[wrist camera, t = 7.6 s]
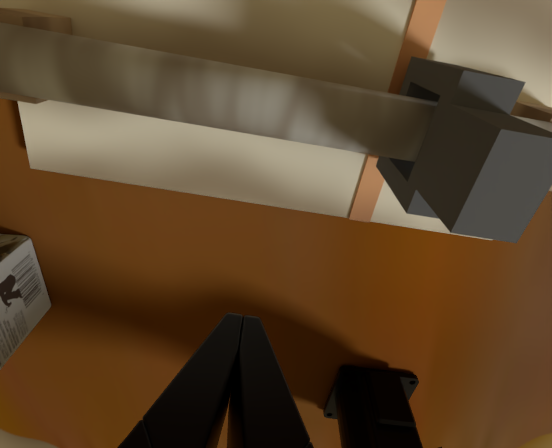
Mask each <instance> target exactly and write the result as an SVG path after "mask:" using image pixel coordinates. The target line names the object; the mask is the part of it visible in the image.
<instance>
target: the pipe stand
mask: <svg viewBox="0 0 552 448" xmlns="http://www.w3.org/2000/svg"><path fill="white" fill-rule="evenodd" d="M411 56H413V57H418V58H423V59H428V60H434V61H439V62H444V63H449V64H455V65H459V66H463V67H467V68H471V69H475V70H479V71H483V72H487V73H491V74H495V75H499V76H503V77H507V78H511V79H515V80H519V81H523V82H526V83H525V85H524V87H523V89H522V91H521V93H520V95H519V97H518V99H517V101H516V103H515V105H514V107H513V109H512V111H511V113H510V115H511V116H514V117H516V118H518V119H521V120H523V121H526V122H528V123H531V124H533V125H535V126H538V127H540V128H543V129H545V130H548V131H550V132H552V0H0V98H2V99H8V100H14V101H18V107H19V112H20V117H21V122H22V127H23V132H24V137H25V143H26V148H27V153H28V158H29V163H30V168H32V169H38V170H45V171H51V172H58V173H64V174H70V175H77V176H83V177H90V178H96V179H102V180H109V181H115V182H122V183H128V184H134V185H141V186H147V187H154V188H160V189H166V190H173V191H179V192H186V193H192V194H198V195H205V196H211V197H218V198H224V199H230V200H237V201H243V202H250V203H256V204H262V205H269V206H275V207H282V208H288V209H294V210H301V211H307V212H314V213H320V214H326V215H333V216H339V217H346V218H349V219H351V220H357V221H363V222H370V221H371V222H378V223H384V224H390V225H397V226H403V227H410V228H416V229H422V230H429V231H435V232H442V233H448V234H455V233H450V231H449V230H448V229H447V228H446V226H445V225H444V224H443V223H442V221H441V220H440V219H438V218H431V217H425V216H419V215H413V214H406V212H405V210H404V209H403V207H402V206H401V204H400V203H399V201H398V200H397V198H396V197H395V195H394V193H393V192H392V190H391V189H390V187H389V186H388V184H387V183H386V181H385V179H384V178H383V176H382V175H381V173H380V172H379V170H378V169H377V167H376V164H377V161H378V158H379V156H383V157H389V158H394V159H400V160H406V161H412V162H415V161H416V158H417V156H418V153H419V151H420V148H421V145H422V143H423V140H424V138H425V135H426V132H427V130H428V127H429V124H430V122H431V119H432V117H433V114H434V111H435V109H436V106H437V104H438V102H436V101H431V100H425V99H420V98H414V97H409V96H403V95H399V93H400V90H401V87H402V84H403V81H404V78H405V75H406V72H407V69H408V66H409V62H410V59H411ZM549 191H552V186H551V187H550V189H549ZM455 235H461V234H455ZM461 236H467V237H474V236H468V235H461ZM474 238H480V239H487V238H481V237H474ZM487 240H493V239H487Z"/></svg>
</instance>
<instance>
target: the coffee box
mask: <svg viewBox="0 0 552 448" xmlns="http://www.w3.org/2000/svg"><path fill="white" fill-rule="evenodd" d="M50 307H51V302H50V299H49V296H48V292H47V289H46V286H45V283H44V279H43V276H42V273H41V270H40V266H39V263H38V260H37V257H36V253H35V250H34V247H33V244H32V241H31V239H30V238H29V237H28V236H23V235H9V234H0V369H1V368H2V367H3V366H4V364H5V363H6V362H7V360H8V359H9V358H10V357H11V356H12V354H13V353H14V352H15V350H16V349H17V348H18V347H19V346H20V344H21V343H22V342H23V341H24V339H25V338H26V337H27V335H28V334H29V333H30V332H31V331H32V329H33V328H34V327H35V326H36V325H37V323H38V322H39V321H40V320H41V318H42V317H43V316H44V315H45V313H46V312H47V311H48V310H49V309H50Z"/></svg>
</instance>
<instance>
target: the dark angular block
mask: <svg viewBox="0 0 552 448" xmlns="http://www.w3.org/2000/svg"><path fill="white" fill-rule="evenodd" d="M525 83H526V82H523V81H519V80H515V79H511V78H507V77H503V76H499V75H495V74H491V73H487V72H483V71H479V70H475V69H471V68H467V67H463V66H459V65H455V64H449V63H444V62H439V61H434V60H428V59H423V58H418V57H413V56H411V59H410V62H409V66H408V69H407V72H406V75H405V78H404V81H403V84H402V87H401V90H400V93H399V95H403V96H409V97H414V98H420V99H425V100H431V101H436V102H438V104H437V106H436V109H435V111H434V114H433V117H432V119H431V122H430V124H429V127H428V130H427V132H426V135H425V138H424V140H423V143H422V145H421V148H420V151H419V153H418V156H417V158H416V161H415V162H412V161H406V160H400V159H394V158H389V157H383V156H379V158H378V161H377V164H376V167H377V169H378V170H379V172H380V173H381V175H382V176H383V178H384V179H385V181H386V183H387V184H388V186H389V187H390V189H391V190H392V192H393V193H394V195H395V197H396V198H397V200H398V201H399V203H400V204H401V206H402V207H403V209H404V210H405V212H406V214H413V215H419V216H425V217H431V218H438V219H440V220H441V221H442V223H443V224H444V225H445V226H446V228H447V229H448V230H449V231H450V233H455V234H461V235H468V236H474V237H481V238H487V239H493V240H500V241H506V242H513V243H517V241H518V240H519V238H520V237H521V235H522V233H523V232H524V230H525V228H526V227H527V225H528V223H529V222H530V220H531V218H532V217H533V215H534V214H535V212H536V210H537V209H538V207H539V205H540V204H541V202H542V200H543V199H544V197H545V195H546V194H547V192H548V191H549V189H550V187H551V186H552V132H550V131H548V130H545V129H543V128H540V127H538V126H535V125H533V124H531V123H528V122H526V121H523V120H521V119H518V118H516V117H514V116H511V115H510V113H511V111H512V109H513V107H514V105H515V103H516V101H517V99H518V97H519V95H520V93H521V91H522V89H523V87H524V85H525Z"/></svg>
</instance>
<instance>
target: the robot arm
mask: <svg viewBox="0 0 552 448" xmlns="http://www.w3.org/2000/svg"><path fill="white" fill-rule="evenodd" d="M418 383H419V381H418V378H417V376H416V375H414V374H407V373H399V372H391V371H383V370H375V369H368V368H360V367H352V366H342V367H341V368H340V369H339V371H338V374H337V376H336V379H335V381H334V384H333V386H332V389H331V392H330V394H329V397H328V399H327V402H326V404H325V407H324V410H323V412H324V416H325V417H326V418H332V419H338V425H339V433H340V440H341V447H342V448H423V446H422V443H421V440H420V437H419V434H418V431H417V428H416V422H415V419H414V416H413V413H412V410H411V407H410V404H409V401H408V400H409V399H410V397H411V395H412V394H413V392H414V390H415V388H416V387H417V385H418ZM231 387H232V388H231ZM230 393H231V394H230ZM229 398H230V401H229ZM228 404H229V412H228V433H227V448H314V447H313V445H312V443H311V442H309V441H310V438H309V435H308V433H307V430H306V428H305V426H304V423H303V421H302V418H301V416H300V413H299V411H298V409H297V406H296V404H295V401H294V399H293V396H292V394H291V392H290V389H289V387H288V384H287V382H286V379H285V377H284V375H283V372H282V370H281V367H280V365H279V362H278V360H277V357H276V355H275V353H274V350H273V348H272V345H271V343H270V340H269V338H268V336H267V333H266V331H265V328H264V326H263V323H262V321H261V319H260V318H259V317H256V316H249V315H245V316H244V317H243V315H241V314H236V313H230V312H229V313H226V314H225V316H224V317H223V318H222V319H221V321H220V322H219V323H218V324H217V325H216V327H215V328H214V329H213V330H212V332H211V333H210V334H209V335H208V337H207V338H206V339H205V340H204V342H203V343H202V344H201V345H200V347H199V348H198V349H197V350H196V352H195V353H194V354H193V355H192V357H191V358H190V359H189V360H188V362H187V363H186V364H185V365H184V367H183V368H182V369H181V370H180V371H179V373H178V374H177V375H176V376H175V378H174V379H173V380H172V381H171V383H170V384H169V385H168V386H167V388H166V389H165V390H164V391H163V393H162V394H161V395H160V396H159V398H158V399H157V400H156V401H155V403H154V404H153V405H152V406H151V408H150V409H149V410H148V411H147V413H146V414H145V415H144V416H143V420H140V421H139V422H138V423H137V425H136V426H135V427H134V428H133V430H132V431H131V432H130V433H129V435H128V436H127V437H126V438H125V439H124V441H123V442H122V443H121V444H120V445H119V446H118V448H217V445H218V441H219V437H220V434H221V430H222V427H223V423H224V420H225V416H226V412H227V408H228ZM439 448H442V447H439Z"/></svg>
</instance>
